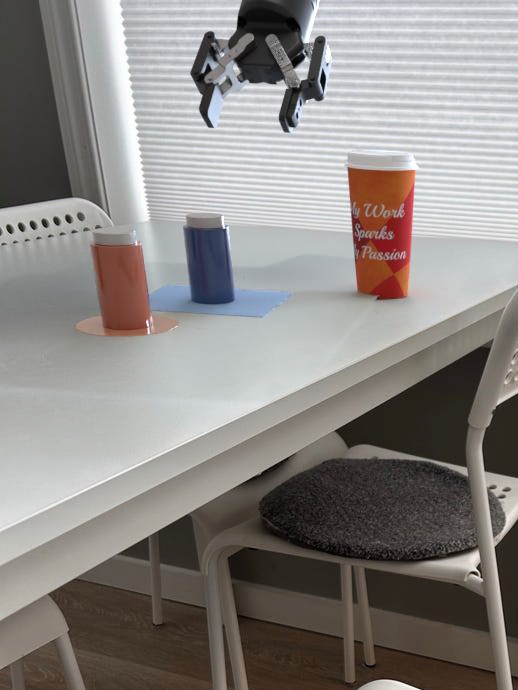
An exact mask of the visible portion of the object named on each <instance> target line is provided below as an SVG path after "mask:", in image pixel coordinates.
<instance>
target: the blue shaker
mask: <svg viewBox="0 0 518 690" xmlns="http://www.w3.org/2000/svg"><path fill="white" fill-rule="evenodd" d="M185 220H186V222H185V223H186V224H184V225H183V226H182V231H183V239H184V250H185V258H186V268H187V276H188V284H189V285H188V286H190V294H191V300H192V301H193V302H196V303H201V304H224V303H230V302H233V301H234V300H235V291H234V289H235V283H234V282H235V281H234V269H233V258H232V249H231V248H232V247H231V237H230V227H229V226H228V225H227V224H225V216H224V214H221V213H216V212H215V213H214V212H192V213H187V214H186V215H185Z"/></svg>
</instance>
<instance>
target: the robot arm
mask: <svg viewBox="0 0 518 690" xmlns="http://www.w3.org/2000/svg"><path fill="white" fill-rule="evenodd" d="M319 6H320V0H241V3H240V5H239V9H238V13H237V20H236V28H235V29H236V30H235V31H234V33H233V34H231V36H230V37H229V39H226V38H225V39H224V38H217V36H216V33H215V32H214V31H212V30H210V31H206V32H205V33H204V34H203V37H202V40H201V43H200V45H199V48H198V49H197V53H196V56H195V59H194V61H193V64H192V66H191V68H190V72H189V75H190V76H191V79H192V80H193V83H194V85H195V86H196V88H197V90H198V92H199V94H200V95H201V99H200V103H199V106H198V112H199V114H200V116H201V118H202V119H203V122H204V123H205V124H206V126H207V128H209V129H216V128H217V126H218V124H219V119H220V116H221V112H222V109H223V106H224V99H225V98H226V97H227V96H228V95H230V94H231V93H233V92H234V91H235V92H239V91H241V90H242V89H243V88H244V87H246V85H248V84H254V85H255V84H257V85H258V84H262V83H266V84H268V85H278V83H279V82H284V85H285V86H286V88H285V91H284V94H283V98H282V102H281V105H280V109H279V113H278V123H279V124H280V127H281V129H282V132H283V133H284V134H285V133H286V134H292V133H293V130H294V129H296V128H297V127H298V125H299V123H300V120H301V116H302V114H303V113H302V112H303V109H304V106H305V105H307V103H308V102H309V101H310V100H313V99H314V101H315V102H322V101H323V100H325V98H326V94H327V88H328V83H329V77H330V73H331V68H332V62H333V57H332V54H331V51H330V48H329V44H328V42H327V39H326V37H325V36H324V35H317V36H316V37H315V38H314V41H313V42H309V40H310V37H311V34H312V29H313V26H314V21H315V18H316V15H317V11H318V9H319ZM307 59H308V61H309V66H308V72H307V77H306V78H305V79H301V78H300V77H299V75H298V73H297V71H296V69H297V68H299V67H300V66H301V65H303V64H304V62H305V61H306V60H307ZM234 65H236V66H237V68H238V71H239V73H238V74H237V75H236V73H235V70H234ZM224 78H225V79H224ZM223 79H224V81H222V83H220V81H221V80H223Z"/></svg>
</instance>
